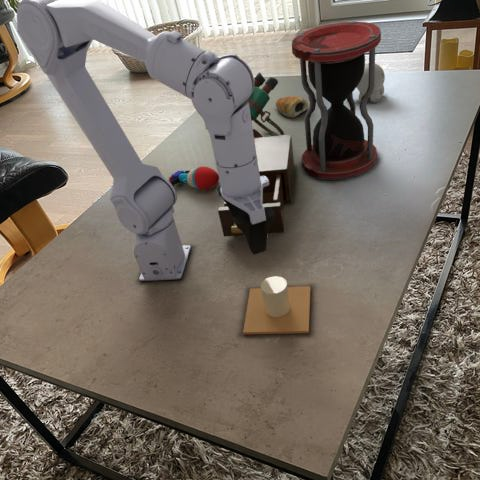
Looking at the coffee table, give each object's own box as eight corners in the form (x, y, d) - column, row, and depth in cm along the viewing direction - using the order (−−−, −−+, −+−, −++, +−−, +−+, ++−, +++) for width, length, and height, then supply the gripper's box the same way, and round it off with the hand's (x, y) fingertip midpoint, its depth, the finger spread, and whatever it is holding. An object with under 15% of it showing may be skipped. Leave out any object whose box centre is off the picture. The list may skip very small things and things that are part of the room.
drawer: (282, 245, 87) (278, 218, 83) (220, 249, 90) (214, 223, 85) (288, 193, 99) (285, 167, 95) (233, 197, 101) (228, 172, 97)
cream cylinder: (288, 317, 75) (285, 293, 71) (263, 317, 76) (258, 293, 72) (291, 299, 78) (288, 275, 74) (266, 299, 79) (262, 276, 75)
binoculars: (243, 147, 126) (207, 108, 115) (278, 103, 124) (244, 59, 113) (273, 166, 116) (236, 125, 106) (311, 118, 114) (278, 72, 104)
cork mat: (308, 333, 73) (308, 331, 72) (243, 334, 75) (242, 332, 74) (310, 288, 79) (310, 285, 79) (250, 290, 82) (250, 288, 81)
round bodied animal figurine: (343, 92, 132) (342, 58, 126) (387, 93, 126) (389, 58, 121) (333, 103, 128) (332, 69, 122) (379, 105, 122) (380, 69, 116)
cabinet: (290, 203, 98) (286, 169, 93) (230, 208, 101) (222, 174, 95) (294, 166, 108) (291, 134, 103) (239, 172, 111) (233, 140, 105)
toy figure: (162, 195, 112) (210, 196, 103) (154, 175, 109) (203, 174, 100) (182, 181, 116) (231, 180, 107) (175, 161, 114) (224, 159, 105)
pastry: (270, 110, 131) (268, 96, 129) (289, 102, 133) (288, 87, 131) (291, 119, 125) (289, 104, 123) (311, 110, 127) (310, 95, 125)
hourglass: (322, 139, 115) (316, 20, 97) (388, 148, 107) (395, 20, 89) (288, 174, 106) (275, 50, 89) (357, 186, 98) (357, 52, 81)
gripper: (282, 171, 62) (291, 255, 71) (247, 129, 72) (259, 208, 81) (229, 188, 61) (246, 270, 70) (202, 143, 71) (220, 221, 81)
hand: (250, 238), depth 76 cm, fingers open, 7 cm apart
